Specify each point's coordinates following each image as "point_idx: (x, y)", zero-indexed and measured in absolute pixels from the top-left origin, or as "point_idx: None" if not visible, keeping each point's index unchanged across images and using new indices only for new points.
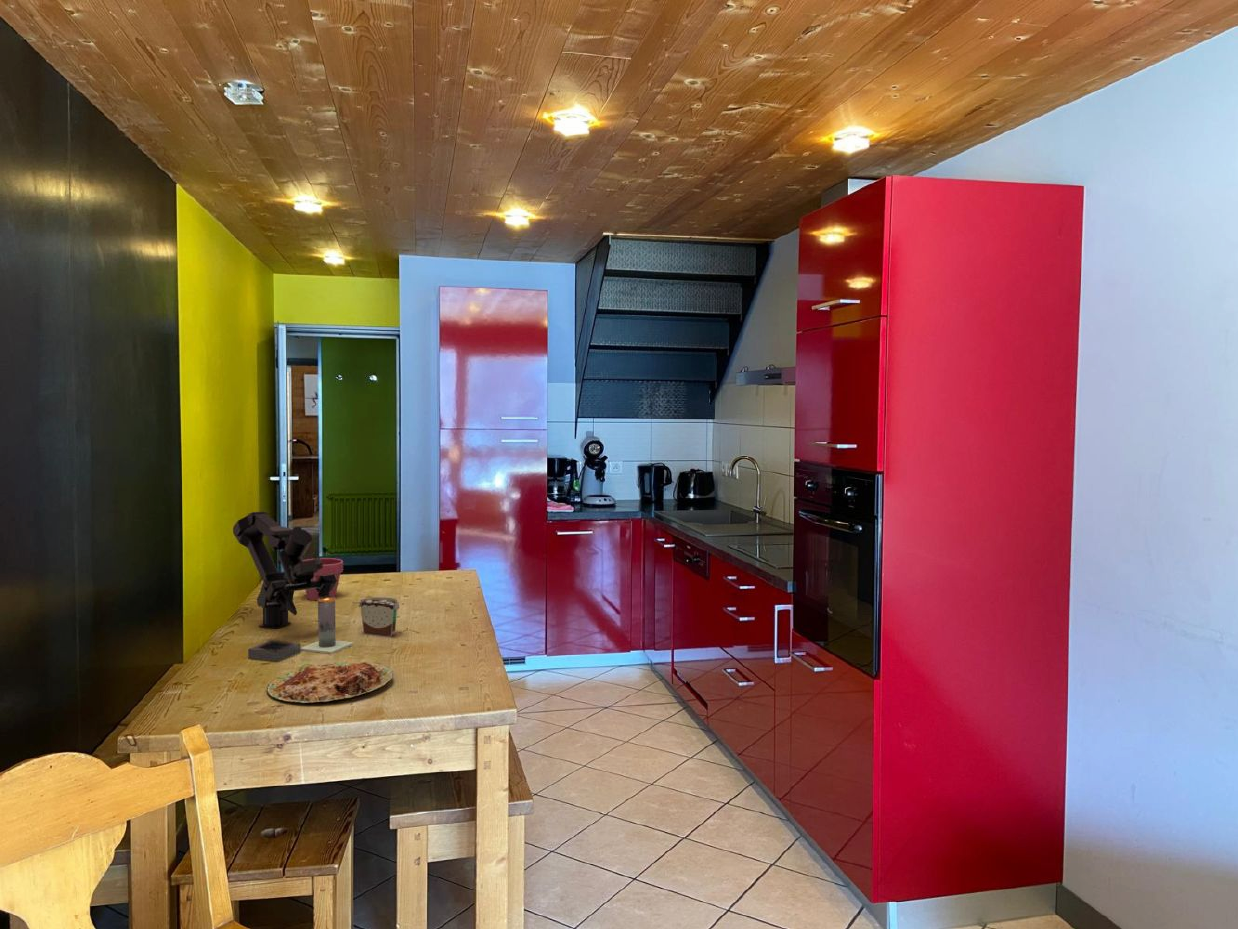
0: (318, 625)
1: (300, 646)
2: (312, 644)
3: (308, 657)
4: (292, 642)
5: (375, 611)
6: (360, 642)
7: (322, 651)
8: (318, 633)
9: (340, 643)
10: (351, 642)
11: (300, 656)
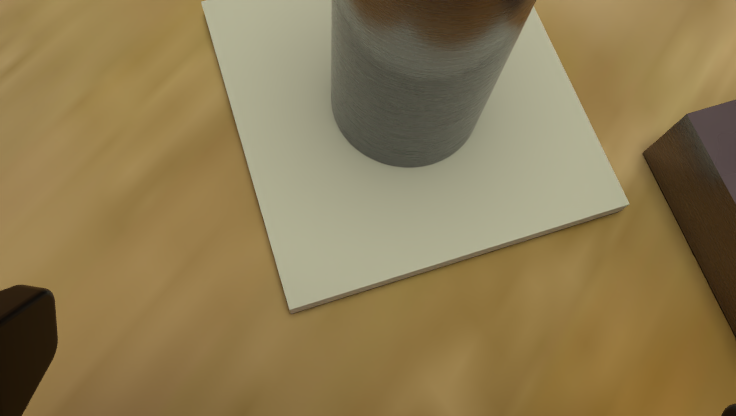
0: (533, 4)
1: (670, 129)
2: (476, 223)
3: (656, 8)
4: (733, 196)
5: None
6: (120, 26)
7: None
8: (502, 69)
9: (294, 58)
10: (214, 15)
11: (689, 72)
